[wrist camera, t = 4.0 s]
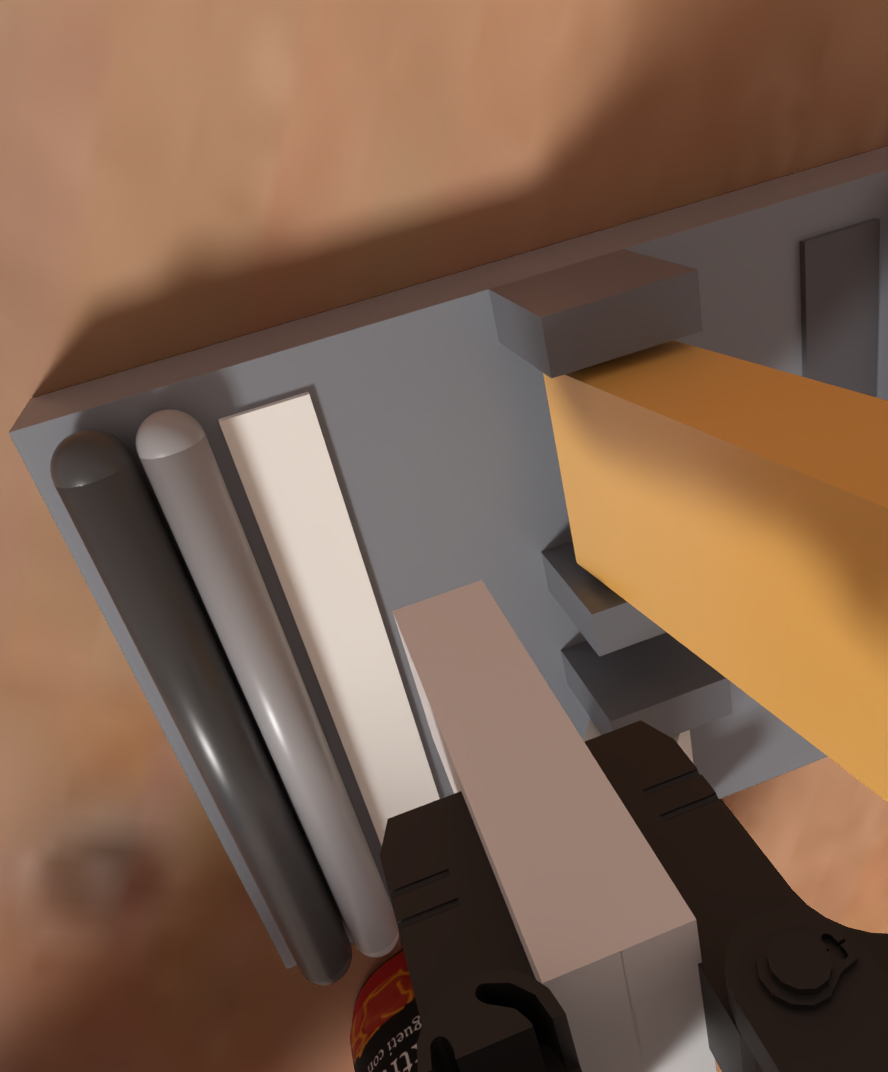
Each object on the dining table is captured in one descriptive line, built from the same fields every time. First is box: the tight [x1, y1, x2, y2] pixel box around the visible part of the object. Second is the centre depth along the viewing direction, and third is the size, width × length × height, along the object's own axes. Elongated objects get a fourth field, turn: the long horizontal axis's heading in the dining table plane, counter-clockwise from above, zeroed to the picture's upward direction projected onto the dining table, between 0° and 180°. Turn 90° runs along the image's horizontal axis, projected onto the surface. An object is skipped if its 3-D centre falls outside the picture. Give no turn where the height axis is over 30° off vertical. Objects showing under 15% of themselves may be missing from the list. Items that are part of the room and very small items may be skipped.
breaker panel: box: [9, 146, 888, 985], centre depth 22 cm, size 18×24×6 cm
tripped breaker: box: [543, 340, 888, 802], centre depth 16 cm, size 5×2×10 cm, turn 13°
